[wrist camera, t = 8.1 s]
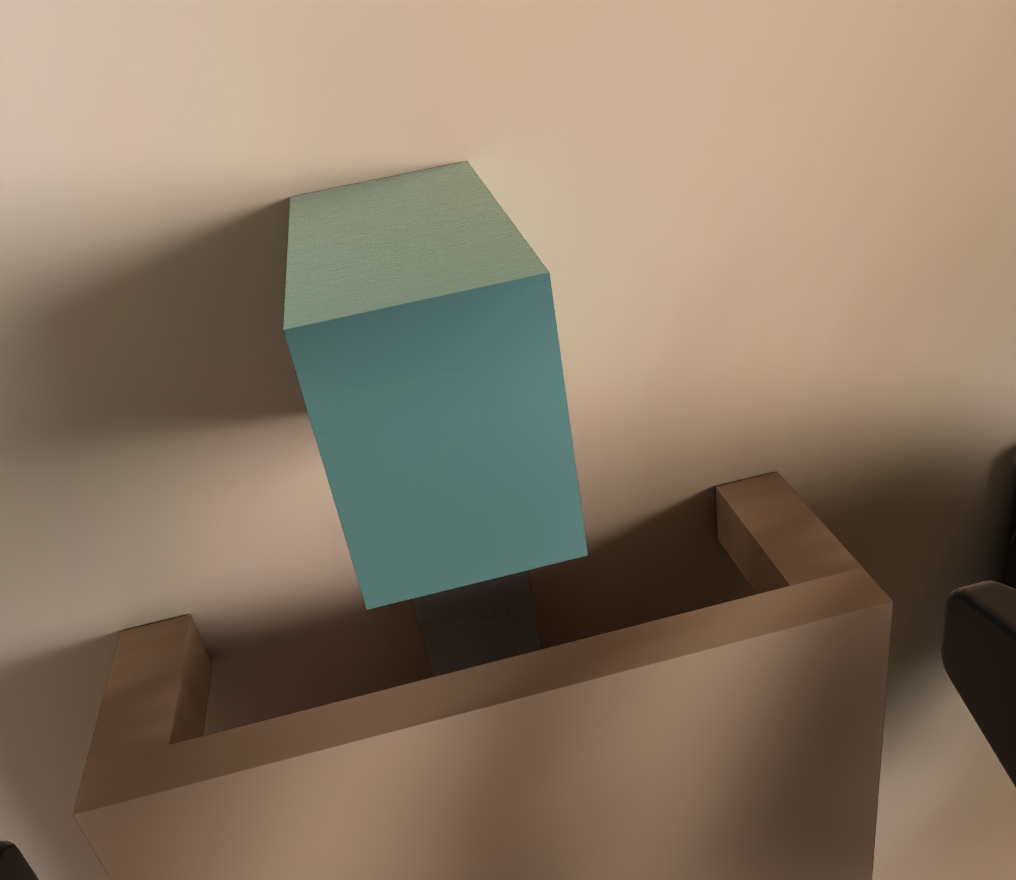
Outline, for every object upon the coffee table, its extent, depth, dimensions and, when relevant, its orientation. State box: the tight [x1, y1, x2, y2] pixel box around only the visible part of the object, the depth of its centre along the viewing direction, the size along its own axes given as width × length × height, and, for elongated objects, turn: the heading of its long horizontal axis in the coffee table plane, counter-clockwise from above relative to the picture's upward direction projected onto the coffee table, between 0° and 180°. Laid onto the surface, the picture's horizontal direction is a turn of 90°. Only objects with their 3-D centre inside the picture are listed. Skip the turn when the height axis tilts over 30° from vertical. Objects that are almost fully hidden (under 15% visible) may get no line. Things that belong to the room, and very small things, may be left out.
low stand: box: [73, 472, 893, 880], centre depth 19 cm, size 14×8×4 cm, turn 99°
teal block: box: [283, 161, 588, 677], centre depth 17 cm, size 5×16×6 cm, turn 9°
